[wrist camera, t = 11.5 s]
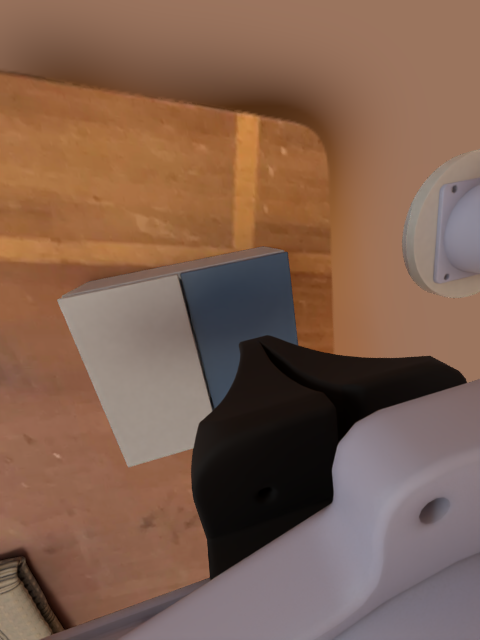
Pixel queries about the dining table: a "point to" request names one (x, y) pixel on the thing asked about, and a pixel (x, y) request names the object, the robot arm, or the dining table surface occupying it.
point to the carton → (145, 355)
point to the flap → (238, 312)
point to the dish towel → (23, 604)
